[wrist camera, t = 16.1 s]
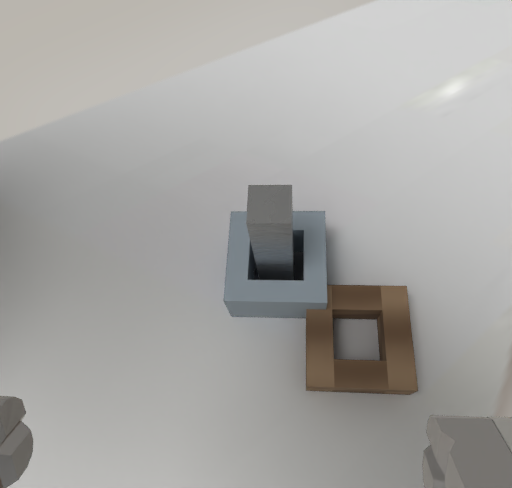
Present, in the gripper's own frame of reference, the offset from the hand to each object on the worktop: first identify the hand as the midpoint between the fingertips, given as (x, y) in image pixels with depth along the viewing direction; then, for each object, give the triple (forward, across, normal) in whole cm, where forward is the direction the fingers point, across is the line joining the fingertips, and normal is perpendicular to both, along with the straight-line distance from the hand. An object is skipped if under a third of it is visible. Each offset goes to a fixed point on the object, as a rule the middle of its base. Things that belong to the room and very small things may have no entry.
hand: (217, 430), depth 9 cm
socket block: (+28, -7, +16) cm, 33 cm away
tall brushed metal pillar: (+33, +1, +11) cm, 35 cm away
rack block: (+33, +1, +11) cm, 35 cm away
